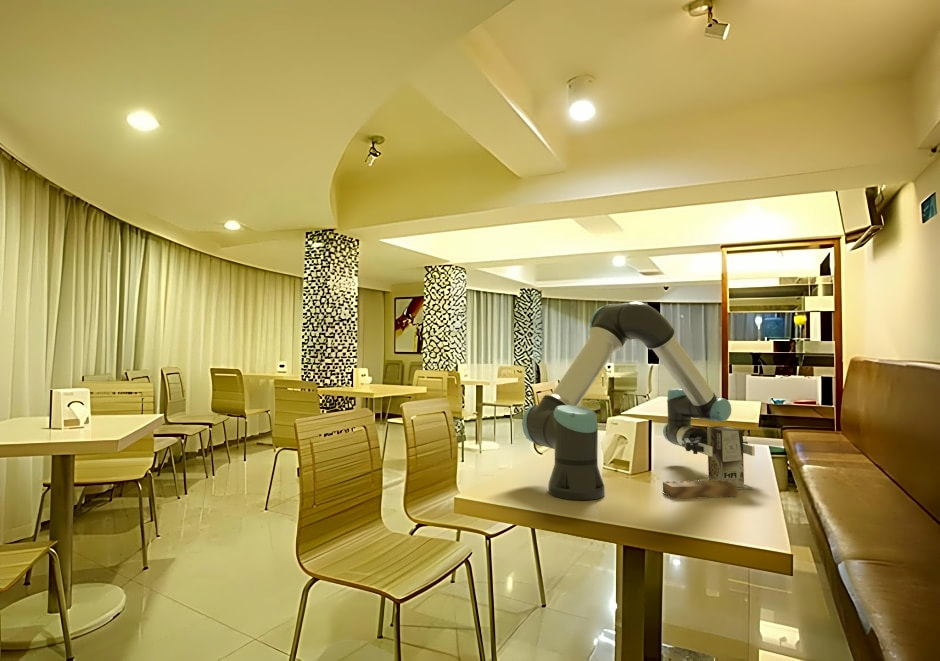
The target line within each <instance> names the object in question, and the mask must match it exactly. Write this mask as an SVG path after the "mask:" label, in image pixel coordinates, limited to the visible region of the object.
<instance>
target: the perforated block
mask: <svg viewBox="0 0 940 661" xmlns="http://www.w3.org/2000/svg"><path fill="white" fill-rule="evenodd" d="M663 492H664V493H665V495H666V494H667V495H666V496H668V495H669V496H670V498H671V497H672V498H671V499H697V497H707V498H729V497H728V496H737V497H738V490H737V485H735V484H732V483H730V482H728V481H725V480H721V481H718V480H714V481H711V480H707V481H704V480H700V481H697V479H695V480H694V479H693V480H685V481H684V480H679V481H676V480H672V481H669V480H666V481H662V493H663ZM664 493H663V494H664ZM669 496H668V497H669Z"/></svg>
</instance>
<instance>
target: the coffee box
mask: <svg viewBox="0 0 940 661" xmlns="http://www.w3.org/2000/svg"><path fill="white" fill-rule="evenodd" d="M706 432H707V442H708V446H712V451H713V456H708V455H707V466H708V468H707V469H708V479H709V480H711V481H714V480H718V481H721V480H725V481H728V482H730V483H732V484H735V485H737V487H744V484H745V477H744V476H745V468H744V467H745V466H744V463H745V462H744V453H743V441H744V430H743V429H741V428H740V429H739V428H734V427H732V426H726V425H719V426H716V425H715V426H707V427H706Z"/></svg>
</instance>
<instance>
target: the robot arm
mask: <svg viewBox="0 0 940 661" xmlns="http://www.w3.org/2000/svg"><path fill="white" fill-rule="evenodd" d="M589 320H590V321H589V323H590V325H589V331H588V335H589V339H587V341H586V343H585V344H584V346H583V348H581V350H580V352H579V353H578V355H577V356H576V357H575V359H574V360H573V362H572V364H571V365H570V366H569V368H568V369H567V371H566V372H565V374H564V375H563V376H562V378H561V379H560V381H559V382H558V384H557V385H556V387H555V388H554V390H553V392H552V393H548V394H545V395H544V396H543V397H542V398H541V400H540V402H539V403H538V404H535V405H532V406H529V407H528V408H527V409H525V412H524V414H523V417H522V420H521V424H522V425H521V427H522V432H523V434H524V436H525V438H526V439H527V440H528V441H529V442H530V443H532V444H535V445H536V446H538V447H539V446H540V447H546V448H548V449H553V450H554V464H553V468H552V472H551V475H550V477H549V481H548V486H547V487H548V493H549V494H550V495H552V496H553V497H556V498H560V499H564V500H571V501H572V500H573V501H592V500H598V499H601V498H603V497H605V493H606V492H605V485H604V481H603V479H602V478H603V477H602V475H601V472H600V470H599V466H598V457H599V456H598V451H599V450H598V448H599V447H598V446H599V445H598V444H599V443H598V438H599V437H598V435H599V434H598V432H599V431H598V428H599V425H598V416H597V413H596V412H595V411H594V410H593V409H590V408H588V407H585V406H581V405H580V404H581V402H582V401H583V399H584V398H585V396H586V394H588V391H589V390H590V388H591V387H592V385H593V383H594V382H595V381H596V379H597V377H598V376H599V374H600V373H601V371H602V370H603V368H604V366H605V365H606V364H607V362H608V361H609V359H610V358H611V356H612V354H613V353H614V352H619V351H620V350H621V349H622V348H623V347H624V345H625V343H626V342H627V341H628V340H638V341H640V342H642V343H643V344H644V345H645V347H646V348H647V349H648V350H652V351H653V352H654V353H655V355H656V356H657V358H658V359H659V361H660V362H661V363H662V365H663V366H664V367H665V369H666V370H667V371H668V372H669V373H668V374H670V376H671V377H672V378H673V380H674V381H675V382H676V384H677V385H678V386H679V388H669V389H668V390H667V399H666V401H667V423H665V425H664V426H663V429H662V434H663V436H664V438H665V440H667V441H668V442H669V443H670V444H673V445H674V446H675V445H676V446H679V447H682V448H684V449H685V451H686V452H691V451H692V454H693V455H698V453H700V454H703V455H705V456H707V457H708V456H713V451H712V446H708V442H707V430H705V429H702V428H699V427H696V426H692V419H697V420H698V419H699V420H704V421H711V422H725V421H727V420H729V418H730V416H731V415H732V405H731V403H730V401H729V400H728V399H727V398H723V397H718V396H717V395H716V393H715V392H714V391H713V389H712V388H711V387H710V385H709V384H708V383H707V382H708V381H706V379H705V378H704V376H703V375H702V374H701V372H700V371H699V370H698V368H697V366H696V365H695V364H694V363H693V361H692V359H691V358H690V357H689V355H688V353H687V352H686V351H685V349H684V348H683V347H682V345H681V344H680V342H679V341H678V340H677V338H676V337H675V334H676V332H675V329H674V328H673V326H672V325H671V323H670V321H668V320H667V319H666V318H665V317H664V316H663V314H661V313H660V312H659V311H657V309H656V308H654V307H652V306H650V305H649V304H646V303H645V302H641V301H631V302H624V303H615V304H614V303H611V304H606V305H603V306H601V307H598V308H597V309H596V310H595V311H593V313H592V314H591V316H590V319H589ZM579 405H580V406H579ZM743 454H745V455H749V456H754V457H755V445H751V444H749V442H748V441H744V440H743Z"/></svg>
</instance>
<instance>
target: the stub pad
mask: <svg viewBox="0 0 940 661" xmlns="http://www.w3.org/2000/svg"><path fill="white" fill-rule="evenodd" d="M697 480H699V481H700V480H704V481H707V480H709V478H696V481H697ZM737 489H742V490H743V489H744V490H753V487H752V486H750V485H748V484H745V483H744V487H737Z"/></svg>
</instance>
